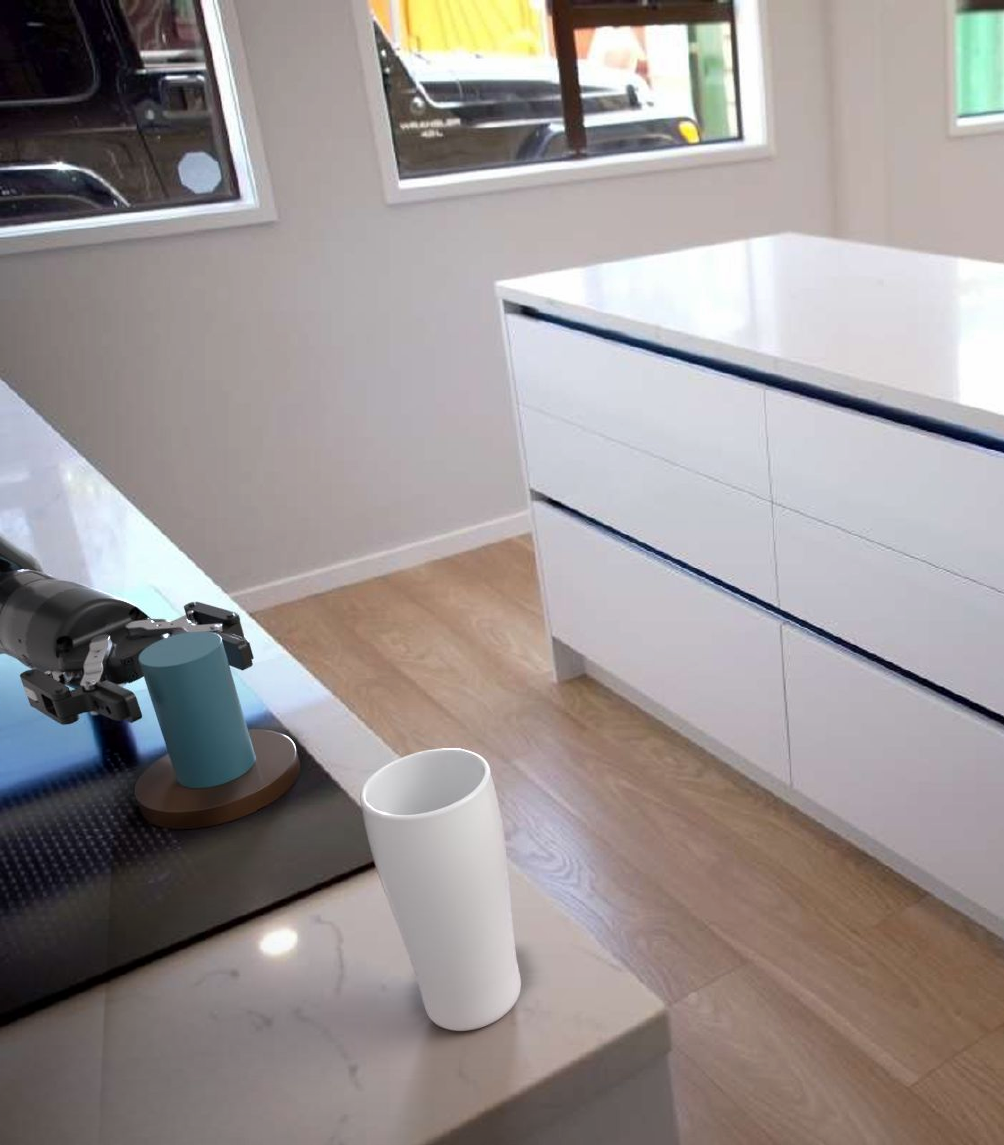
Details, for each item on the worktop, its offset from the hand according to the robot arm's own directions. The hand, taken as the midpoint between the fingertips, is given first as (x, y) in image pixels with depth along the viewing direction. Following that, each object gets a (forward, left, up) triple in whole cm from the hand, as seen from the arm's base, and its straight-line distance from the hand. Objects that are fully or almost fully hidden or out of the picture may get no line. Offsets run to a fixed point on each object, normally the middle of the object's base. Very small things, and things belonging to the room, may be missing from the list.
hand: (192, 681), depth 93 cm
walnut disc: (0, 0, -9) cm, 9 cm away
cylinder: (0, 0, -7) cm, 7 cm away
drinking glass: (+12, -33, -9) cm, 36 cm away
